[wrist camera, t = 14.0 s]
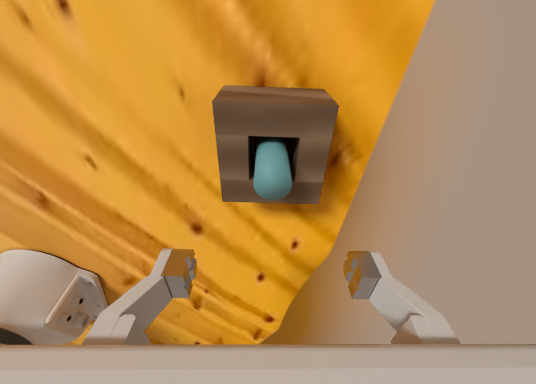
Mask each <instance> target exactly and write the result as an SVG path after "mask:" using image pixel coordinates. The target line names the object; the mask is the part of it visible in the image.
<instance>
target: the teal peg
mask: <svg viewBox="0 0 536 384" xmlns="http://www.w3.org/2000/svg"><path fill="white" fill-rule="evenodd" d="M253 186H254V189H255V191H256V193H257V194H258V195H259V196H261V197H262V198H264V199H268V200H277V199H281V198H283V197H285V196H286V195H287V194H288V193H289V192H290V190H291V188H292V179H291V172H290V166H289V159H288V153H287V146H286V140H285V137H266V136H258V140H257V151H256V161H255V172H254V182H253Z"/></svg>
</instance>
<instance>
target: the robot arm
mask: <svg viewBox="0 0 536 384" xmlns="http://www.w3.org/2000/svg"><path fill="white" fill-rule="evenodd" d="M194 255H195V253H194V250H190V249H163V250H162V251H161V252H160V254H159V257H158V259H157V261H156V263H155V265H154V267H153V269H152V271H151V274H150V276H146V277H145V278H144V279H142V280H141V281H140V282H139V283H137V284H136V285H135V286H134V287H132V288H131V289H130V290H129V291H127V292H126V293H125V294H124V295H122V296H121V297H120V298H119V299H117V300H116V301H115V302H114V303H112V304H111V305H110V306H109V307H108V304H107V301H106V298H105V295H104V292H103V289H102V286H101V283H100V281H99V278H98V276H97V275H96V274H94V273H92V272H89V271H86V270H83V269H80V268H77V267H75V266H73V265H71V264H70V263H68V262H66V261H64V260H62V259H59V258H57V257H54V256H52V255H48V254H45V253H41V252H37V251H31V250H9V251H5V252H3V253H1V254H0V384H536V344H460V342H459V340H458V339H457V337H456V336H455V334H454V332H453V331H452V329H451V328H450V326H449V324H448V323H447V321H446V320H445V318H444V316H443V315H442V314H441V313H440V312H438V311H437V310H436V309H435V308H433V307H432V306H431V305H430V304H428V303H427V302H426V301H424V300H423V299H422V298H421V297H419V296H418V295H417V294H416V293H414V292H413V291H412V290H410V289H409V288H408V287H407V286H405V285H404V284H403V283H402V282H400V281H399V280H398V279H396V278H393V277H392V275H391V273H390V271H389V269H388V267H387V265H386V263H385V261H384V260H383V258H382V256H381V254H380V253H379V252H378V251H349V252H348V254H347V257H348V259H347V260H346V261H345V262H344V275H345V278H346V280H348V281H349V282H350V283H349V286H348V287H349V290H350V293H351V296H352V298H353V299H369V301H370V302H371V303H372V304H373V306H375V308H376V309H377V310H378V311H379V312H380V313H381V314H382V315H383V316H384V318H385V319H386V320H387V321H388V322H389V323H390V324H391V325H392V326H393V328H394V329H395V330H396V331H397V334H396V335H395V336H394V337H393V339H392V340H391V343H392V344H362V345H361V344H353V345H352V344H349V345H348V344H344V345H343V344H335V345H334V344H328V345H327V344H326V345H325V344H321V345H320V344H318V345H317V344H315V345H314V344H313V345H312V344H308V345H305V344H304V345H303V344H298V345H297V344H295V345H294V344H292V345H289V344H285V345H149V344H150V340H149V338H148V337H147V335H146V333H145V332H144V330H145V329H146V328H147V327H148V326H149V325H150V324H151V322H152V321H153V320H154V319H155V318H156V317H157V316H158V315H159V313H160V312H161V311H162V310H163V309H164V308H165V307H166V306H167V305H168V303H169V302H170V301H171V300H172V298H189V297H190V293H191V290H192V286H193V285H192V280H193V279H194V278H195V276H196V271H197V261H196V259H195V258H194ZM92 320H96V321H95V323H94V324H93V326H92V328H91V330H90V331H89V333H88V335H87V336H86V338H85V340H84V342H83V343H82V345H62V344H65V343H68V342H71V341H73V340H75V339H77V338H78V337H79V336H80V335H81V334H82V333H83V332H84V331H85V329H86V328H87V327H88V325H89V324H90V322H91V321H92Z"/></svg>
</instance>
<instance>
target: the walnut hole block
mask: <svg viewBox="0 0 536 384" xmlns="http://www.w3.org/2000/svg"><path fill="white" fill-rule="evenodd" d="M212 104H213V114H214V123H215V133H216V143H217V152H218V162H219V171H220V181H221V191H222V200H223V202H258V203H294V204H318V203H319V198H320V194H321V189H322V184H323V179H324V175H325V170H326V165H327V160H328V155H329V151H330V146H331V141H332V136H333V132H334V127H335V122H336V117H337V113H338V108H339V105H338V104H337V103H336V102H335V101H334V100H333V99H332V98H331V96H330V95H329V94H328V93H327V92H326V91H325V90H324V89H304V88H278V87H251V86H225V85H224V86H223V88H222V89H221V90H220V92H219V93H218V94H217V96H216V97H215V98H214V100H213V101H212ZM252 136H266V137H292V140H291V150H290V154H288V159H289V166H290V172H291V179H292V188H291V190H290V192H289V193H288V194H287V195H286V196H285V197H283V198H281V199H277V200H268V199H264V198H262V197H261V196H259V195H258V194H257V193H256V191H255V189H254V186H253V182H254V172H255V161H256V153H252Z"/></svg>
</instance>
